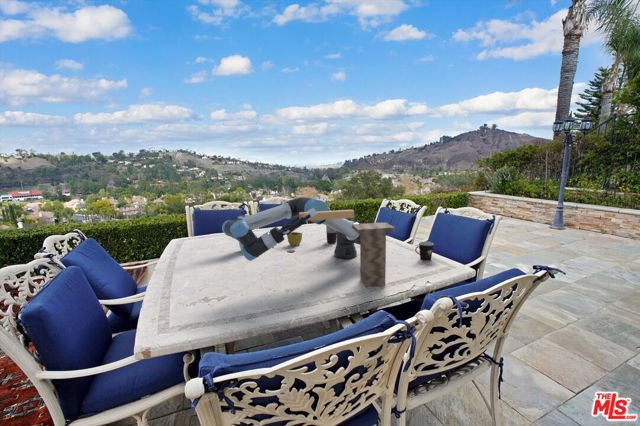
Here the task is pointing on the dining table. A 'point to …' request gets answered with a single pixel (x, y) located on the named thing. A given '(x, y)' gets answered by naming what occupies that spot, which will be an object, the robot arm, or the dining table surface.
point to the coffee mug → (425, 250)
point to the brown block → (330, 215)
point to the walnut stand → (373, 252)
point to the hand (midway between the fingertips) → (315, 210)
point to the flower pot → (294, 238)
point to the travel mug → (331, 235)
